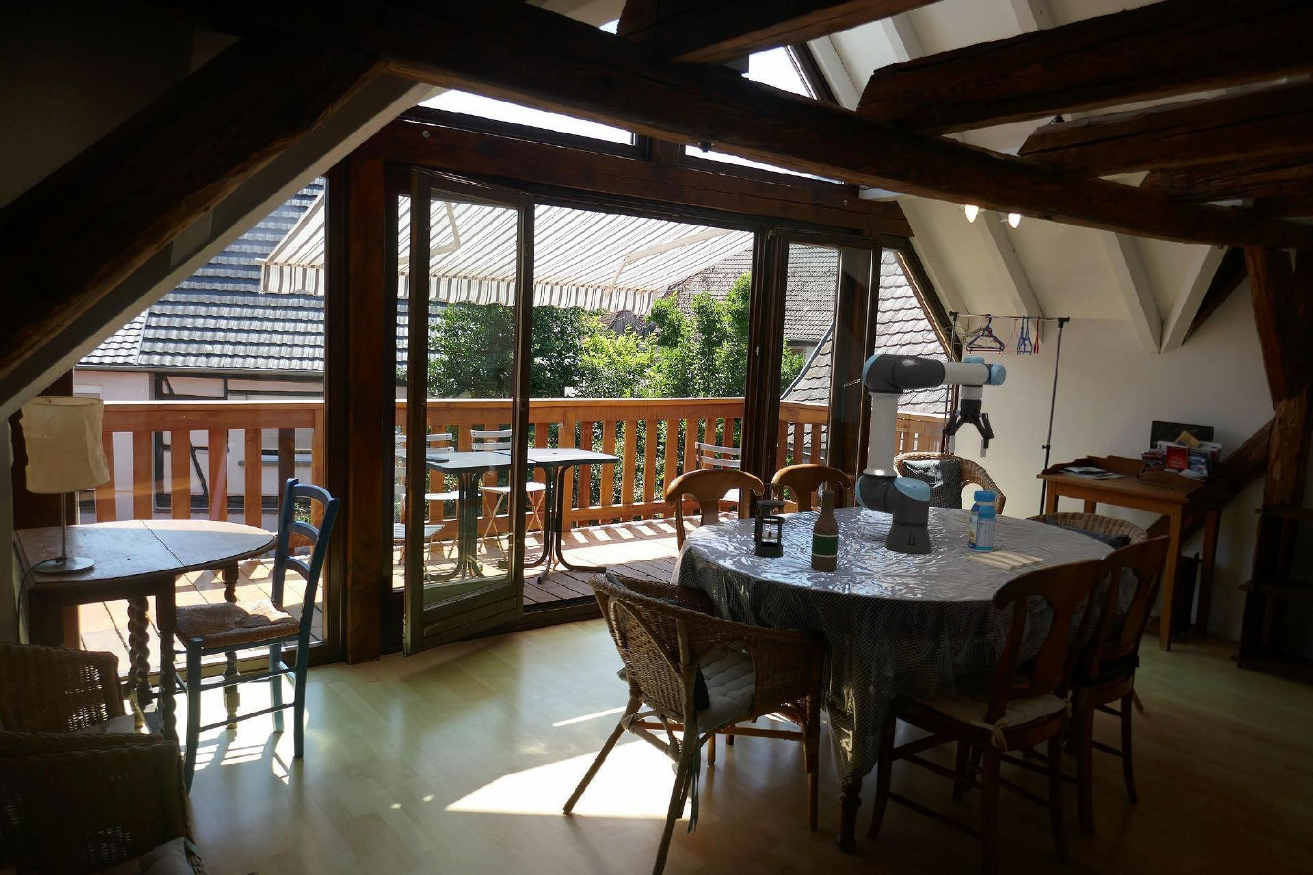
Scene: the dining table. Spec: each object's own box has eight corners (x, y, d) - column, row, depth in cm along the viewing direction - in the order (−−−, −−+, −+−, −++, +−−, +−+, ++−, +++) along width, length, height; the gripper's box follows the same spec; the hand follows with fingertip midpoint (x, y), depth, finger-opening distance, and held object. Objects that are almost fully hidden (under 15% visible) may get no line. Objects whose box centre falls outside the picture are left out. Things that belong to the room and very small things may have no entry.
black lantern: (791, 556, 302) (795, 484, 300) (769, 559, 297) (773, 486, 294) (765, 549, 312) (769, 479, 309) (744, 552, 306) (748, 481, 304)
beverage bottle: (986, 554, 318) (991, 494, 316) (962, 549, 324) (967, 491, 322) (997, 550, 324) (1002, 492, 322) (974, 546, 330) (978, 489, 328)
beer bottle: (805, 568, 288) (810, 489, 286) (820, 564, 294) (825, 487, 291) (826, 573, 283) (831, 493, 280) (841, 569, 288) (846, 491, 286)
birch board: (1009, 569, 297) (1009, 566, 297) (967, 559, 309) (967, 556, 309) (1043, 562, 309) (1044, 559, 309) (1002, 553, 321) (1002, 550, 321)
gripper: (1007, 401, 349) (1002, 458, 351) (948, 395, 368) (944, 450, 371) (995, 401, 344) (990, 459, 346) (937, 395, 364) (932, 451, 366)
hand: (966, 455), depth 358 cm, fingers open, 13 cm apart
